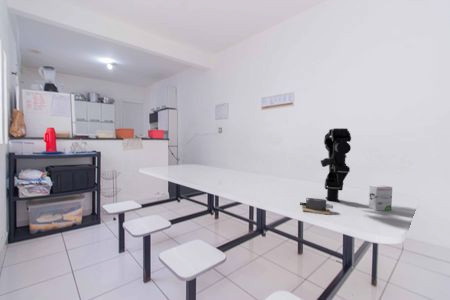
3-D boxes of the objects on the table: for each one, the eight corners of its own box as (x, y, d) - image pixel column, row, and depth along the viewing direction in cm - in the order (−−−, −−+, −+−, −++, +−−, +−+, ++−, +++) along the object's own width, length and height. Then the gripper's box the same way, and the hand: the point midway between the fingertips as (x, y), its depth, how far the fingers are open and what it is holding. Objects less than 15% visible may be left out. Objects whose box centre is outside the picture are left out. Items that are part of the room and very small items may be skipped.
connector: (299, 205, 108) (300, 197, 108) (331, 209, 103) (332, 200, 103) (299, 208, 104) (300, 198, 104) (333, 211, 99) (333, 202, 99)
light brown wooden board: (302, 205, 110) (302, 204, 110) (327, 208, 106) (327, 207, 106) (302, 211, 101) (302, 210, 101) (330, 214, 97) (330, 213, 97)
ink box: (383, 207, 110) (384, 184, 110) (392, 210, 105) (393, 186, 105) (368, 207, 109) (369, 184, 109) (375, 210, 104) (377, 186, 104)
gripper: (319, 151, 120) (318, 179, 121) (324, 153, 102) (322, 185, 103) (342, 152, 117) (340, 181, 117) (350, 154, 99) (349, 187, 99)
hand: (337, 183), depth 109 cm, fingers open, 9 cm apart
